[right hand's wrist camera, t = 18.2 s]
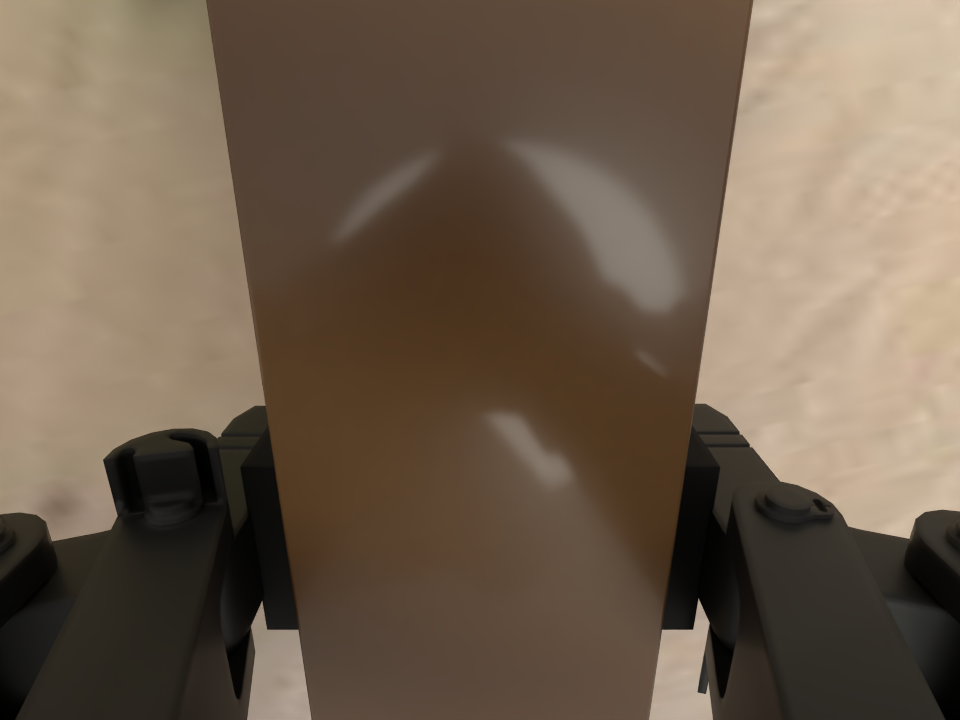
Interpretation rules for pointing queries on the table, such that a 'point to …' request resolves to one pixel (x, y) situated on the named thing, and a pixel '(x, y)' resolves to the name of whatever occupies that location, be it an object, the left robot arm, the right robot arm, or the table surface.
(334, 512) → the bar
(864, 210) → the table surface
